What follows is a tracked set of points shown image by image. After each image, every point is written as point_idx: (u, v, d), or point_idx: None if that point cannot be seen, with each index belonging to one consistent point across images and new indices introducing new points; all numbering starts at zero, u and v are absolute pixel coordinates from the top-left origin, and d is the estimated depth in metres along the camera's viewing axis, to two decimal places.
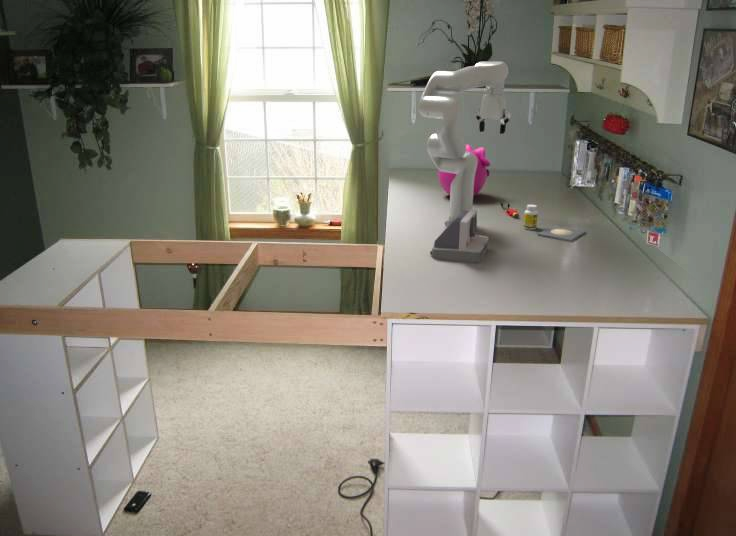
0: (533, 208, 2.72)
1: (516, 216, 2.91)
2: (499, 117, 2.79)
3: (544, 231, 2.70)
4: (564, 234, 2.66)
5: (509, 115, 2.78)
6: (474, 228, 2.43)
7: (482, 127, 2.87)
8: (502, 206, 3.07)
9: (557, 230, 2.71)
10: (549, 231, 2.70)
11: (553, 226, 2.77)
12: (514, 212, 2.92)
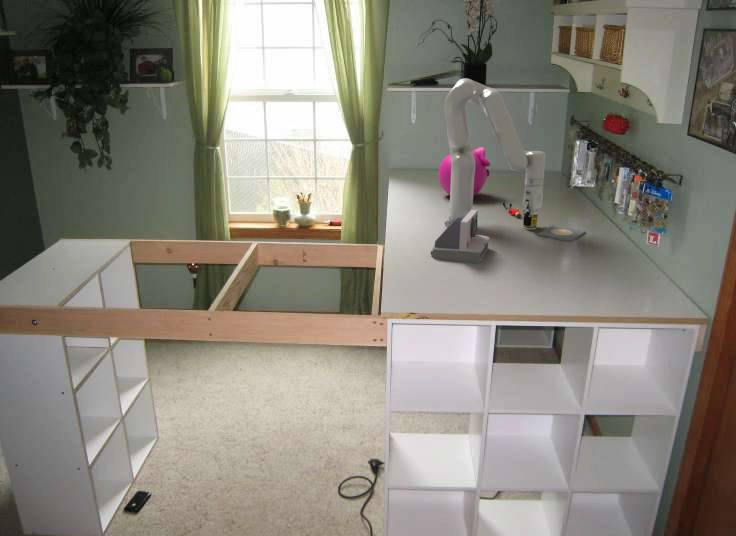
0: None
1: (519, 216, 2.91)
2: None
3: (544, 231, 2.70)
4: (564, 234, 2.66)
5: None
6: (475, 228, 2.42)
7: None
8: (504, 206, 3.07)
9: (557, 230, 2.71)
10: (549, 231, 2.70)
11: (553, 226, 2.77)
12: (517, 212, 2.92)
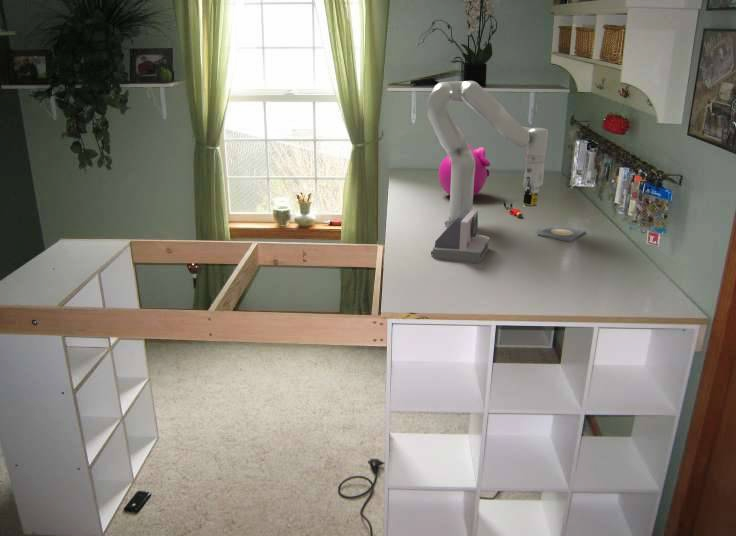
0: None
1: (520, 216, 2.91)
2: (542, 182, 2.72)
3: (544, 231, 2.70)
4: (564, 234, 2.66)
5: None
6: (475, 228, 2.42)
7: None
8: (505, 206, 3.07)
9: (557, 230, 2.71)
10: (549, 231, 2.70)
11: (553, 226, 2.77)
12: (518, 212, 2.92)
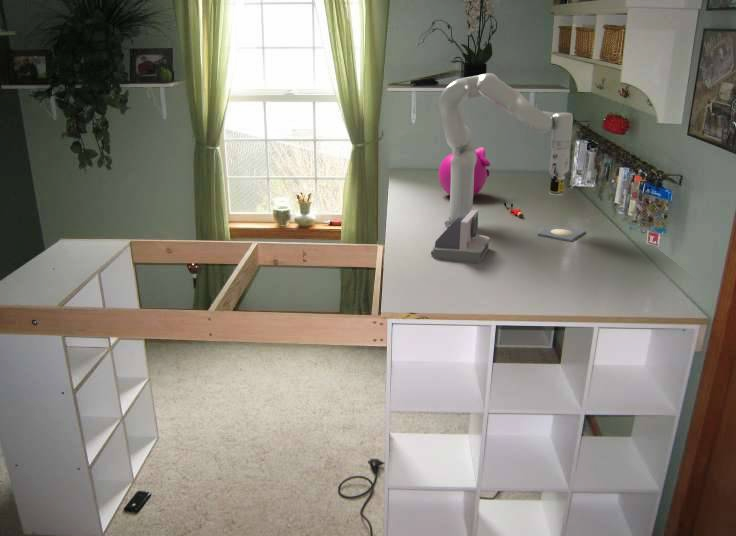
0: None
1: (521, 216, 2.91)
2: (568, 169, 2.64)
3: (544, 231, 2.70)
4: (564, 234, 2.66)
5: None
6: (475, 228, 2.42)
7: None
8: (505, 206, 3.07)
9: (557, 230, 2.71)
10: (549, 231, 2.70)
11: (553, 226, 2.77)
12: (519, 212, 2.92)
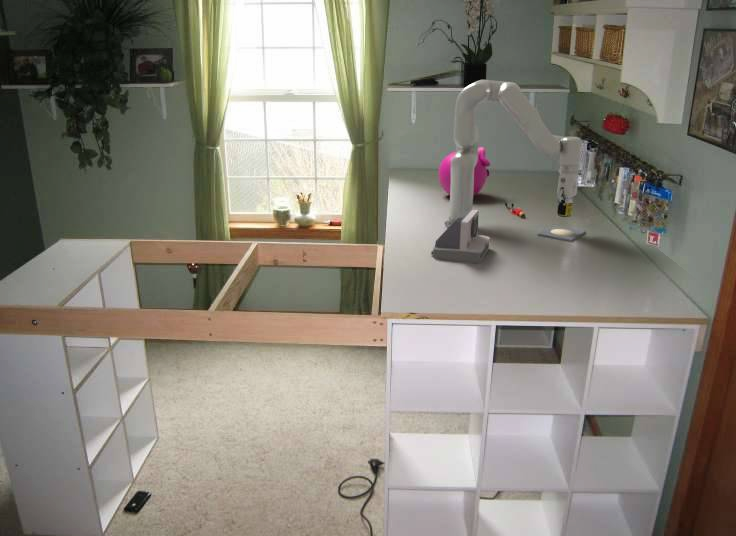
0: None
1: (523, 216, 2.91)
2: (576, 192, 2.65)
3: (544, 231, 2.70)
4: (564, 234, 2.66)
5: None
6: (475, 228, 2.42)
7: None
8: (506, 206, 3.07)
9: (557, 230, 2.71)
10: (549, 231, 2.70)
11: (553, 226, 2.77)
12: (521, 212, 2.93)
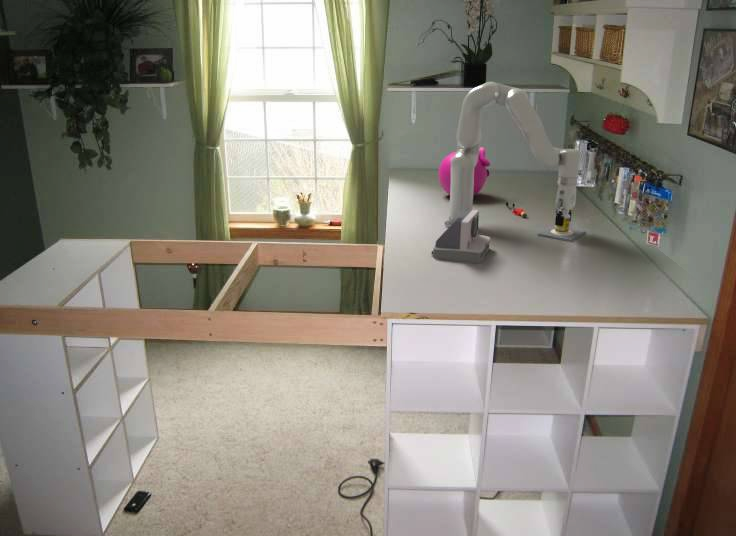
0: (566, 211, 2.64)
1: (524, 215, 2.91)
2: None
3: (544, 231, 2.70)
4: (564, 234, 2.66)
5: None
6: (476, 228, 2.42)
7: None
8: (507, 206, 3.07)
9: None
10: (549, 231, 2.70)
11: (553, 226, 2.77)
12: (522, 212, 2.93)
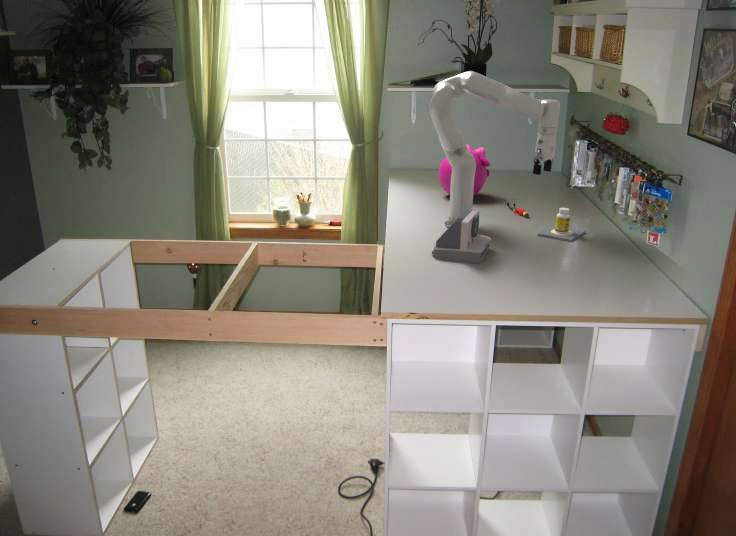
0: (566, 211, 2.64)
1: (527, 215, 2.92)
2: (554, 155, 2.71)
3: (544, 231, 2.70)
4: (564, 234, 2.66)
5: None
6: (476, 228, 2.42)
7: None
8: (508, 206, 3.07)
9: None
10: (549, 231, 2.70)
11: (553, 226, 2.77)
12: (524, 211, 2.93)
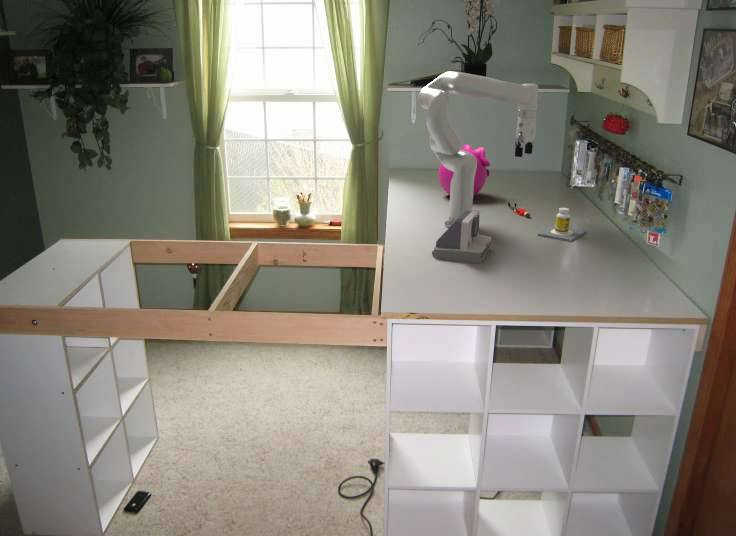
0: (566, 211, 2.64)
1: (528, 215, 2.92)
2: (534, 138, 2.80)
3: (544, 231, 2.70)
4: (564, 234, 2.66)
5: None
6: (476, 228, 2.42)
7: None
8: (509, 206, 3.07)
9: None
10: (549, 231, 2.70)
11: (553, 226, 2.77)
12: (525, 211, 2.93)
